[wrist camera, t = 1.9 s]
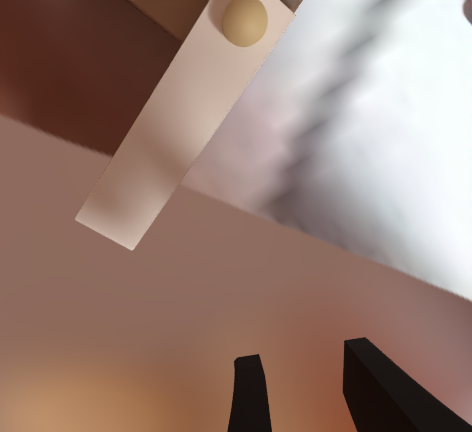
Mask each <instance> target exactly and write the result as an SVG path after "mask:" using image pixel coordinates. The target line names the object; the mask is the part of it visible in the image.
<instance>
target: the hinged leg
mask: <svg viewBox="0 0 472 432" xmlns="http://www.w3.org/2000/svg"><path fill="white" fill-rule="evenodd" d="M295 16H296V15H295V14H294V13H293V12H292V11H291V10H290V9H289V8H288V7H286V6H285V5H284V4H283V3H282V2H281V1H280V0H210V1H209V2H208V4H207V5H206V7H205V9H204V10H203V12H202V14H201V15H200V17H199V18H198V20H197V22H196V23H195V25H194V27H193V28H192V30H191V31H190V33H189V35H188V36H187V38H186V40H185V41H184V43H183V44H182V46H181V48H180V49H179V51H178V52H177V54H176V56H175V57H174V59H173V61H172V62H171V64H170V65H169V67H168V69H167V70H166V72H165V74H164V75H163V77H162V78H161V80H160V82H159V83H158V85H157V87H156V88H155V90H154V91H153V93H152V95H151V96H150V98H149V100H148V101H147V103H146V104H145V106H144V108H143V109H142V111H141V113H140V114H139V116H138V117H137V119H136V121H135V122H134V124H133V125H132V127H131V129H130V130H129V132H128V134H127V135H126V137H125V138H124V140H123V142H122V143H121V145H120V147H119V148H118V150H117V151H116V153H115V155H114V156H113V158H112V160H111V161H110V163H109V164H108V166H107V168H106V169H105V171H104V173H103V174H102V176H101V177H100V179H99V181H98V182H97V184H96V186H95V187H94V189H93V191H92V192H91V194H90V195H89V197H88V199H87V200H86V202H85V203H84V205H83V207H82V208H81V210H80V211H79V213H78V215H77V216H76V218H75V220H76V221H78V222H80V223H82V224H84V225H86V226H87V227H89V228H91V229H93V230H95V231H97V232H99V233H100V234H102V235H104V236H106V237H108V238H110V239H111V240H113V241H115V242H117V243H119V244H121V245H123V246H124V247H126V248H128V249H130V250H132V251H133V250H134V248H135V247H136V245H137V244H138V242H139V241H140V239H141V238H142V237H143V235H144V234H145V232H146V231H147V229H148V228H149V226H150V225H151V224H152V222H153V220H154V219H155V218H156V216H157V215H158V213H159V212H160V211H161V209H162V207H163V206H164V205H165V203H166V202H167V200H168V199H169V198H170V196H171V195H172V193H173V192H174V190H175V189H176V187H177V186H178V185H179V183H180V182H181V180H182V179H183V177H184V176H185V174H186V173H187V172H188V170H189V169H190V167H191V166H192V164H193V163H194V161H195V160H196V159H197V157H198V156H199V154H200V153H201V151H202V150H203V148H204V147H205V146H206V144H207V143H208V141H209V140H210V138H211V137H212V135H213V134H214V133H215V131H216V130H217V128H218V127H219V125H220V124H221V122H222V121H223V120H224V118H225V117H226V115H227V114H228V112H229V111H230V109H231V108H232V107H233V105H234V104H235V102H236V101H237V99H238V98H239V96H240V95H241V94H242V92H243V91H244V89H245V88H246V86H247V85H248V83H249V82H250V81H251V79H252V78H253V76H254V75H255V73H256V72H257V70H258V69H259V68H260V66H261V65H262V63H263V62H264V60H265V59H266V57H267V56H268V55H269V53H270V52H271V50H272V49H273V47H274V46H275V44H276V43H277V42H278V40H279V39H280V37H281V36H282V34H283V33H284V31H285V30H286V29H287V27H288V26H289V24H290V23H291V21H292V20H293V18H294V17H295Z"/></svg>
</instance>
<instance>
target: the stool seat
mask: <svg viewBox="0 0 472 432" xmlns="http://www.w3.org/2000/svg"><path fill="white" fill-rule="evenodd" d="M127 1H129V2H130V3H131V4H132V5H134V6H135V7H136V8H138V9H139V10H140V11H141V12H143V13H144V14H145V15H146V16H148V17H149V18H150V19H151V20H153V21H154V22H155V23H157V24H158V25H159V26H160V27H162V28H163V29H164V30H165V31H167V32H168V33H169V34H171V35H172V36H173V37H174V38H176V39H177V40H178V41H179V42H181V43H182V44H183V43H184V41H185V40H186V38H187V36H188V35H189V33H190V31H191V30H192V28H193V27H194V25H195V23H196V22H197V20H198V18H199V17H200V15H201V14H202V12H203V10H204V9H205V7H206V5H207V4H208V2H209V1H210V0H127ZM280 1H281V2H282V3H283V4H284V5H285V6H286V7H288V8H289V9H290V10H291V11H292V12H293V13H294V12H295V11H296V9H297V8H298V6H299V5H300V3H301V2H302V1H303V0H280Z"/></svg>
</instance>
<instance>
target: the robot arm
mask: <svg viewBox="0 0 472 432" xmlns="http://www.w3.org/2000/svg"><path fill="white" fill-rule="evenodd" d="M234 367H235V378H234V379H235V380H234V392H233V400H232V408H231V414H230V420H229V425H228V432H272V428H271V420H270V412H269V404H268V396H267V388H266V380H265V374H264V370H263V367H262V363H261V360H260V356H259V354H257V355H250V356H244V357H238V358H237V359H236V360H235V361H234ZM343 394H344V397H345V400H346V403H347V405H348V408H349V411H350V414H351V416H352V419H353V421H354V424H355V426H356V429H357V431H358V432H472V426H471V425H470V424H468V423H467V422H466V421H465V420H463V419H462V418H461V417H459V416H458V415H457V414H455V413H454V412H453V411H452V410H450V409H449V408H448V407H446V406H445V405H444V404H443V403H441V402H440V401H439V400H438V399H436V398H435V397H434V396H433V395H432V394H430V393H429V392H428V391H427V390H426V389H424V388H423V387H422V386H421V385H420V384H418V383H417V382H416V381H415V380H414V379H412V378H411V377H410V376H409V375H408V374H406V373H405V372H404V371H403V370H402V369H401V368H400V367H399V366H397V365H396V364H395V363H394V362H393V361H391V359H389V358H388V357H387V356H386V355H385V354H384V353H383V352H382V351H380V350H379V349H378V348H377V347H376V346H375V345H374V344H373V343H371V342H370V341H369V340H368V339H367V338H365V337H364V338H357V339H351V340H345V341H344V369H343Z"/></svg>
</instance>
